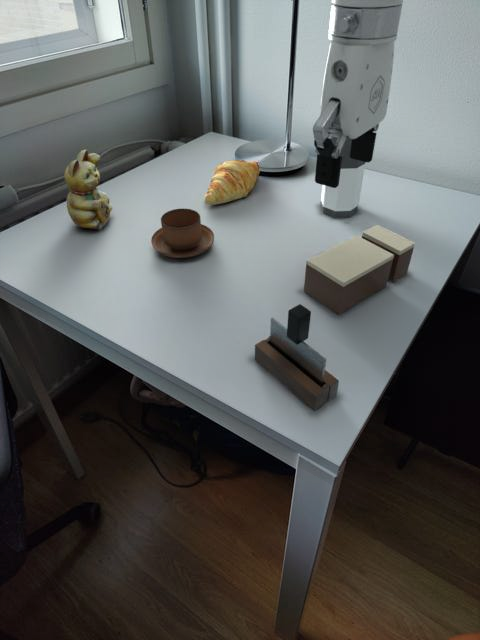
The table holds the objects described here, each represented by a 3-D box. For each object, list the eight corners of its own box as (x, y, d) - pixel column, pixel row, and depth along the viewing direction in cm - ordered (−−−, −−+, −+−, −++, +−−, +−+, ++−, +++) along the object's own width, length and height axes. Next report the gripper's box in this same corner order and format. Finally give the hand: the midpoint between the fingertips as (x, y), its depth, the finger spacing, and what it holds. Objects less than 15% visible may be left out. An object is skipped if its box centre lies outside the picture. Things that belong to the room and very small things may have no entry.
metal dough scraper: (325, 394, 62) (335, 328, 54) (314, 402, 61) (323, 336, 53) (275, 353, 68) (278, 288, 60) (264, 359, 67) (266, 294, 59)
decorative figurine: (102, 236, 93) (85, 163, 83) (63, 234, 94) (41, 162, 84) (118, 212, 100) (103, 143, 90) (81, 211, 101) (63, 142, 91)
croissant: (218, 226, 102) (232, 200, 96) (184, 197, 102) (195, 170, 96) (265, 186, 115) (279, 162, 109) (234, 161, 115) (247, 135, 109)
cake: (386, 286, 79) (394, 254, 75) (338, 315, 74) (343, 283, 69) (351, 265, 84) (356, 234, 80) (303, 291, 78) (306, 259, 74)
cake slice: (406, 273, 82) (415, 242, 77) (392, 282, 80) (400, 251, 76) (371, 254, 86) (377, 224, 82) (357, 262, 85) (362, 231, 80)
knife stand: (336, 395, 62) (339, 380, 60) (313, 411, 60) (316, 396, 58) (276, 346, 69) (277, 331, 67) (254, 359, 67) (254, 344, 65)
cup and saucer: (153, 232, 94) (149, 204, 90) (212, 228, 95) (211, 200, 90) (151, 266, 85) (146, 236, 81) (216, 261, 86) (214, 232, 82)
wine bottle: (353, 221, 96) (380, 58, 76) (315, 214, 98) (332, 55, 78) (360, 203, 102) (386, 48, 82) (324, 198, 104) (341, 45, 84)
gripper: (359, 40, 44) (338, 203, 56) (425, 14, 55) (396, 157, 66) (293, 33, 48) (286, 188, 59) (367, 10, 58) (348, 146, 69)
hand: (344, 171), depth 62 cm, fingers open, 9 cm apart
